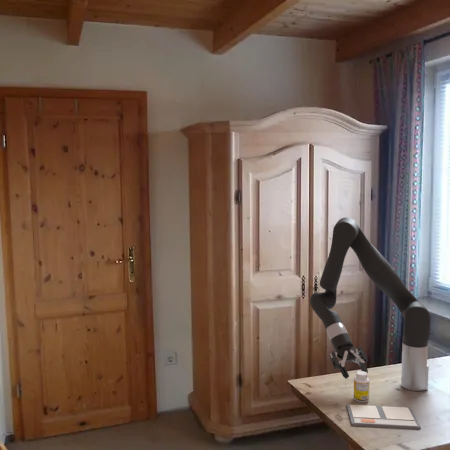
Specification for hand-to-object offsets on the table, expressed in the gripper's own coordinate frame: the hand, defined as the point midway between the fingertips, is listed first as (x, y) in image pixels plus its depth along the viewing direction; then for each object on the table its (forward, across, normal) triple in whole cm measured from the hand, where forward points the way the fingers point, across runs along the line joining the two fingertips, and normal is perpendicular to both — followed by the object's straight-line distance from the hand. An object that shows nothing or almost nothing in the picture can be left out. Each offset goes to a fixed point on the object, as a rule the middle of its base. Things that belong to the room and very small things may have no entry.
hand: (356, 376), depth 188 cm
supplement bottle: (+8, 0, +4) cm, 9 cm away
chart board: (+17, -2, -6) cm, 19 cm away
